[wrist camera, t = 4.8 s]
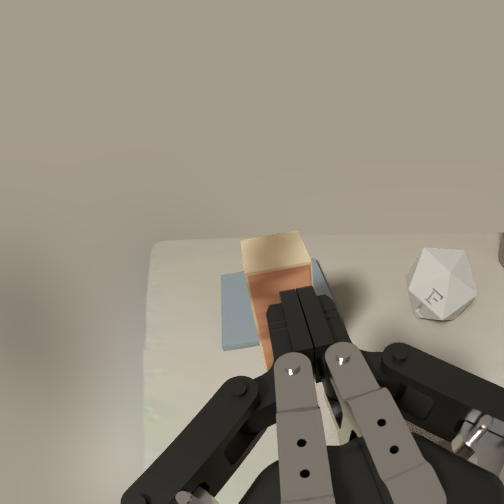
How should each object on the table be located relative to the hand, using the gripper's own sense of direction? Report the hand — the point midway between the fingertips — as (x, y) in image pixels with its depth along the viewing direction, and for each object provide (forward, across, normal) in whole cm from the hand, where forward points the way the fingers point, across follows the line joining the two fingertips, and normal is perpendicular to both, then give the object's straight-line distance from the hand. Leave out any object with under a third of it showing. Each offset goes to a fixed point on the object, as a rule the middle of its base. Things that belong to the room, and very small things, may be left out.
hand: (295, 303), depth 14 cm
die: (+13, -19, +18) cm, 29 cm away
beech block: (+11, 0, +18) cm, 21 cm away
